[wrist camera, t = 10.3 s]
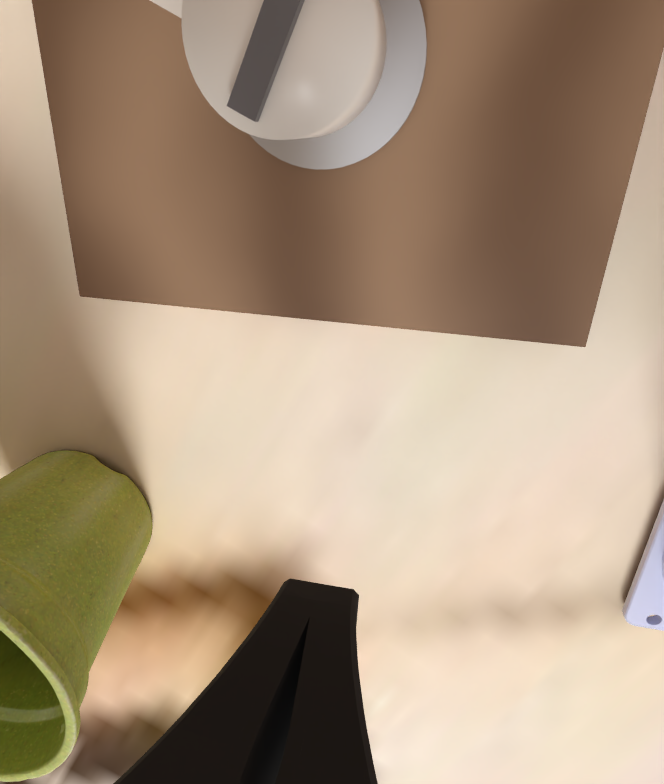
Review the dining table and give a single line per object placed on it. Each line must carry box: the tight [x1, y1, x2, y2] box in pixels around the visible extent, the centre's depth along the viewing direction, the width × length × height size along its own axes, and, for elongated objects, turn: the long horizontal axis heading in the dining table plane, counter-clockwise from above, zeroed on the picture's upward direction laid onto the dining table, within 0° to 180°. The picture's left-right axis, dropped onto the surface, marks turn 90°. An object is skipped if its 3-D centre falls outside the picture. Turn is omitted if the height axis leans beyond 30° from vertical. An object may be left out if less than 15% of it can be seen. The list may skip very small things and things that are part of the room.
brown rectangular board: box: [32, 0, 664, 347], centre depth 14 cm, size 16×14×3 cm
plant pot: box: [0, 450, 152, 782], centre depth 20 cm, size 9×9×9 cm
